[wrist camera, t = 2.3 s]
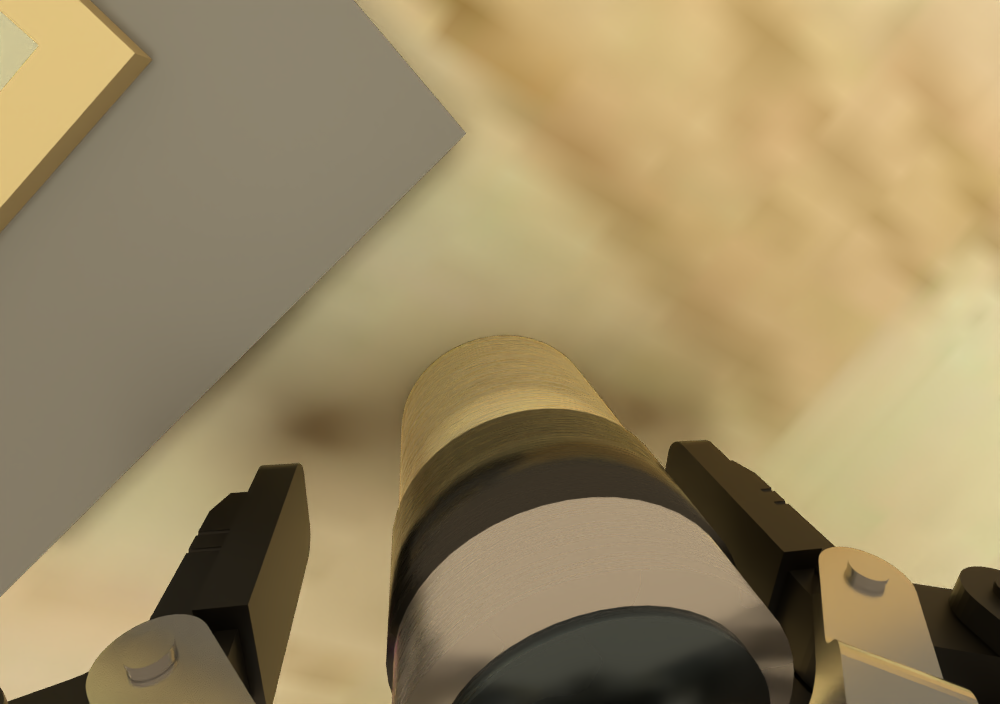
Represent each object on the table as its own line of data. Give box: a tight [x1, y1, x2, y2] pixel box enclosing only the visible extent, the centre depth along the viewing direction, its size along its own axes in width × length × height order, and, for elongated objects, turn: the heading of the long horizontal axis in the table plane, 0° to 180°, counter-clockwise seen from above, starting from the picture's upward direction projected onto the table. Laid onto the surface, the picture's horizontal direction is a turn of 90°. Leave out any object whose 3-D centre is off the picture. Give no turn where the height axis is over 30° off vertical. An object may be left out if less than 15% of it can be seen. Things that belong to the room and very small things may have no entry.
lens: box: [386, 335, 794, 704], centre depth 10 cm, size 5×5×8 cm
